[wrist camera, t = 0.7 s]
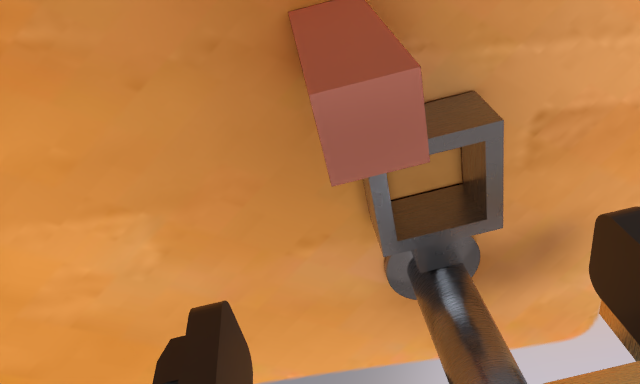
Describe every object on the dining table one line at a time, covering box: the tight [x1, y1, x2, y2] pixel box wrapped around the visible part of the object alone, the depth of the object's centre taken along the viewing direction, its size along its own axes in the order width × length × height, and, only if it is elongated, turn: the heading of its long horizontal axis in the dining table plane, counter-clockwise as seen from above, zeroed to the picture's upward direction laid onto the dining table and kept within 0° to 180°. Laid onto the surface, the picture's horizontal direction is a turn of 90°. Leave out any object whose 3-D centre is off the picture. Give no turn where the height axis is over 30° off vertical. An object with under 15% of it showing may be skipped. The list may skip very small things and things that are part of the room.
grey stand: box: [363, 91, 640, 384], centre depth 25 cm, size 16×14×20 cm
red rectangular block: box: [288, 0, 430, 186], centre depth 22 cm, size 4×4×11 cm
